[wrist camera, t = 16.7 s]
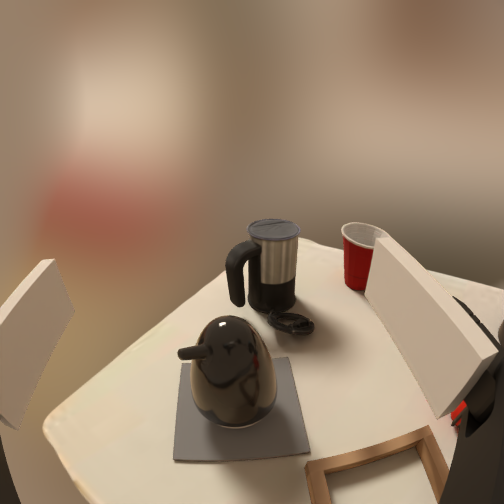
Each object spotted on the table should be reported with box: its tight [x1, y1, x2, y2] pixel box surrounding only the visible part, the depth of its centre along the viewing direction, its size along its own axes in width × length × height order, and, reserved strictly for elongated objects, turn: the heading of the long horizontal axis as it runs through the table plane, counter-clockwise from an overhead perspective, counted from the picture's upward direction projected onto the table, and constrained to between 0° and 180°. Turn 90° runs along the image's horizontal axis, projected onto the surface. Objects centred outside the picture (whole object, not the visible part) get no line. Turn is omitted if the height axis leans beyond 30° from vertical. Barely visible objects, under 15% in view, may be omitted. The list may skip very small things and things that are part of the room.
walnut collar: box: [304, 425, 449, 504], centre depth 17 cm, size 16×16×2 cm
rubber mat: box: [173, 357, 310, 461], centre depth 32 cm, size 16×16×1 cm
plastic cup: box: [341, 223, 391, 290], centre depth 54 cm, size 11×11×12 cm
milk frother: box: [225, 219, 314, 335], centre depth 47 cm, size 14×16×15 cm
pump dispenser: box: [178, 315, 278, 429], centre depth 29 cm, size 10×10×15 cm
